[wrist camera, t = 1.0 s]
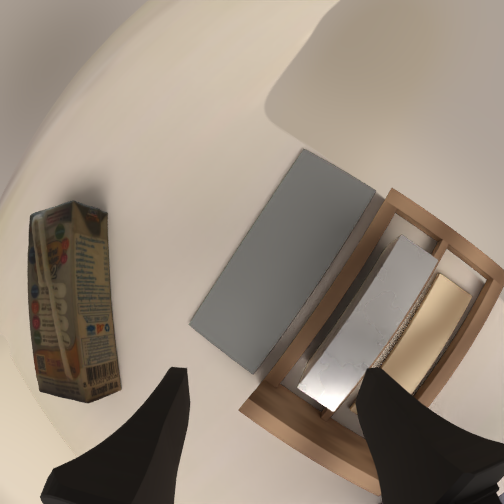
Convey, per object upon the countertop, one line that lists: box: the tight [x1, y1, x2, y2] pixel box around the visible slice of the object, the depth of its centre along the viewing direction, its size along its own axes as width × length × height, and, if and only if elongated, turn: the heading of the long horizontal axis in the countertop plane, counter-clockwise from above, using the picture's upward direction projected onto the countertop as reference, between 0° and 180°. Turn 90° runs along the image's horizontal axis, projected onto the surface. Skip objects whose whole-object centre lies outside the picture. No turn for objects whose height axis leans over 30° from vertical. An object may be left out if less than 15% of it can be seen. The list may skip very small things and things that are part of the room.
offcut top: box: [350, 274, 472, 415], centre depth 22 cm, size 4×13×1 cm, turn 147°
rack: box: [239, 188, 504, 496], centre depth 20 cm, size 12×19×6 cm, turn 145°
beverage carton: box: [28, 201, 121, 403], centre depth 28 cm, size 8×19×7 cm, turn 5°
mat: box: [189, 149, 376, 374], centre depth 26 cm, size 7×18×1 cm, turn 145°
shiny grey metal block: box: [297, 234, 438, 412], centre depth 21 cm, size 3×11×7 cm, turn 145°
